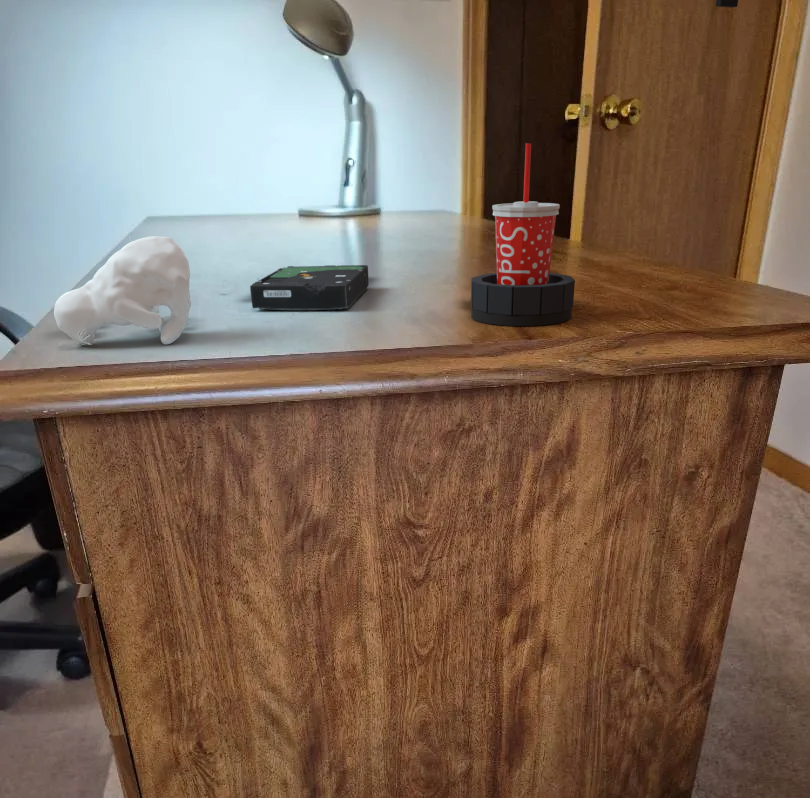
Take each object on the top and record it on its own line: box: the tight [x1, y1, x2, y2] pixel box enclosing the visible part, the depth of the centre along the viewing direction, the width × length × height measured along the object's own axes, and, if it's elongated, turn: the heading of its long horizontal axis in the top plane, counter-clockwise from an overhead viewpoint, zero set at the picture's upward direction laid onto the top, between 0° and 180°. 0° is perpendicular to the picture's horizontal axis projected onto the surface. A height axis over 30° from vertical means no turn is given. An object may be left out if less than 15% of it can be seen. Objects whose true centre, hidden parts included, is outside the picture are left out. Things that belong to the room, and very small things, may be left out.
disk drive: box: [249, 264, 370, 311], centre depth 87 cm, size 10×3×15 cm
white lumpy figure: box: [53, 235, 192, 346], centre depth 68 cm, size 6×8×12 cm
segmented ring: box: [470, 272, 576, 327], centre depth 76 cm, size 10×10×4 cm
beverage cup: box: [491, 142, 561, 285], centre depth 73 cm, size 6×6×14 cm
